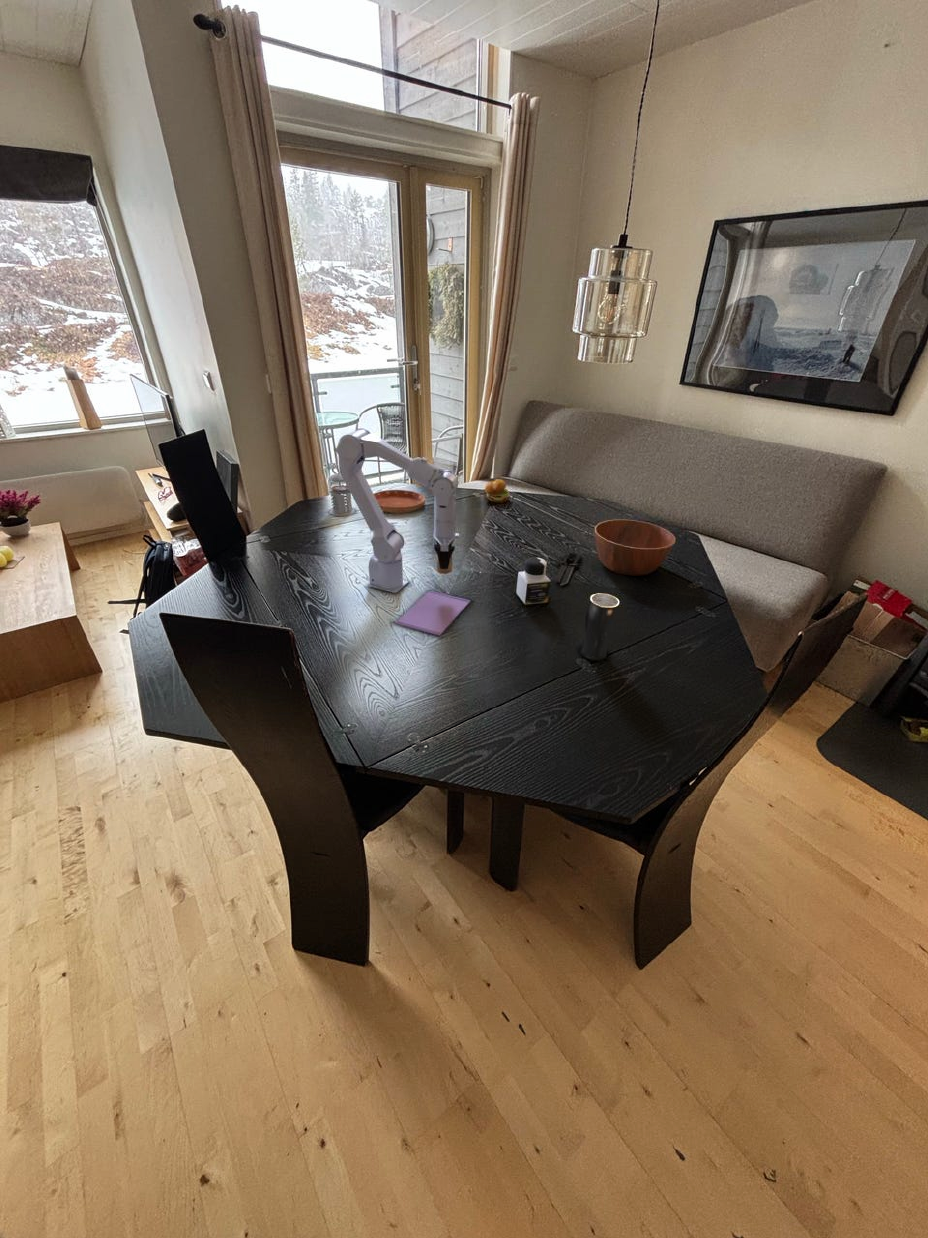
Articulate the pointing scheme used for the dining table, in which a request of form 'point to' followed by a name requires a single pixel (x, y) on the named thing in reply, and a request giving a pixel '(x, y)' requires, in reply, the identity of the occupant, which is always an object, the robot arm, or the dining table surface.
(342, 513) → the french press
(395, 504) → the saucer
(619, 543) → the bowl
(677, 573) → the dining table surface
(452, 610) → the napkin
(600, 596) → the beer glass
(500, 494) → the cheeseburger
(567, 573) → the knife
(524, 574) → the medicine bottle
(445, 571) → the salt mill
